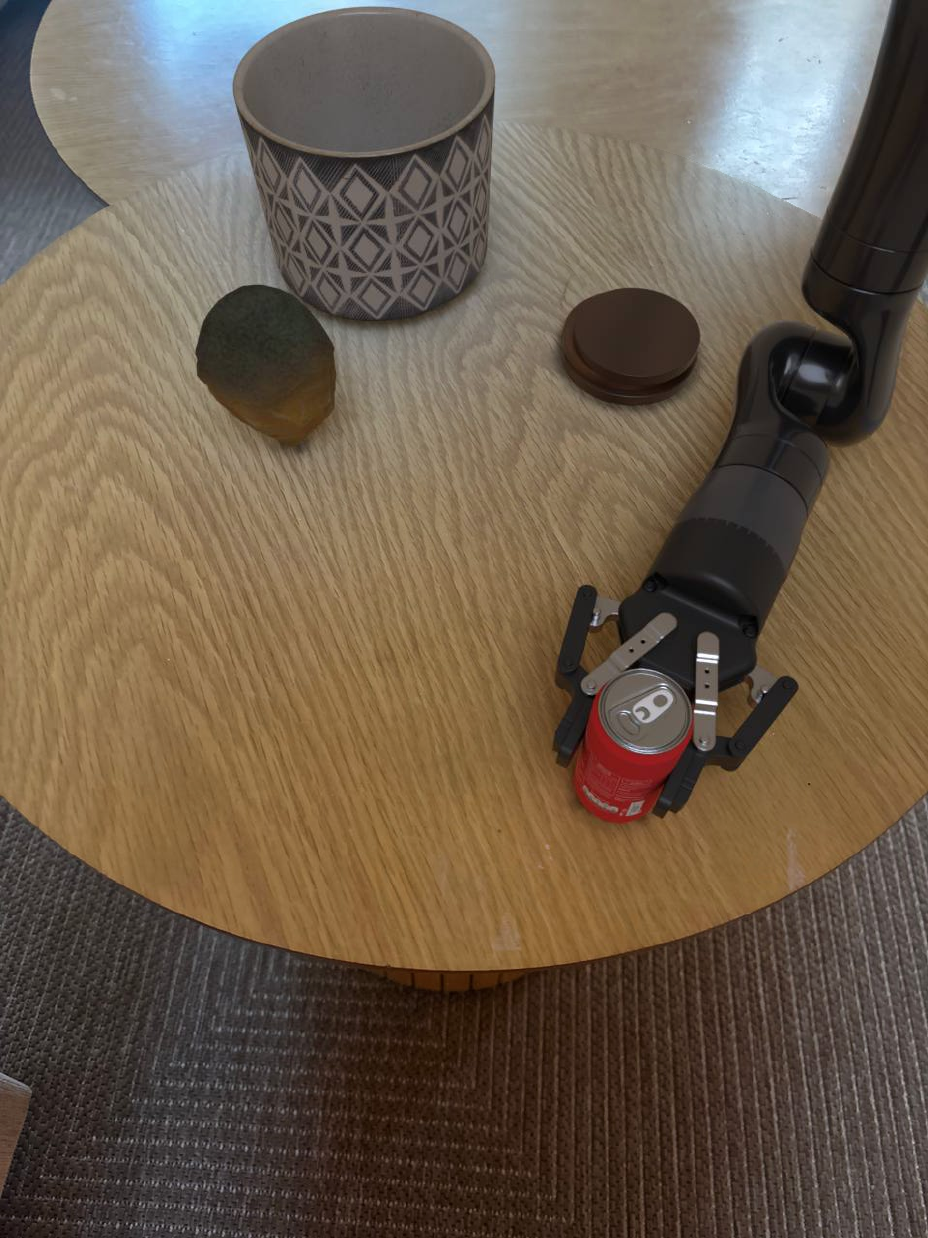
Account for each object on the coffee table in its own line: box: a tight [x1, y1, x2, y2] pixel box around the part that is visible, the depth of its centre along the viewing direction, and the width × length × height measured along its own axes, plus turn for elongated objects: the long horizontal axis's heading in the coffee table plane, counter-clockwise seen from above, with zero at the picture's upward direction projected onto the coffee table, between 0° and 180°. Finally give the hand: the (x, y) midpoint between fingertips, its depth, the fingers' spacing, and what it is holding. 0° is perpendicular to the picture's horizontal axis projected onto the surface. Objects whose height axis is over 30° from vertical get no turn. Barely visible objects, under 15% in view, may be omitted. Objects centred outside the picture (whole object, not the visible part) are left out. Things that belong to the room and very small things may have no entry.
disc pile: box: [561, 287, 701, 406], centre depth 72 cm, size 11×11×3 cm
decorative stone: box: [194, 284, 337, 447], centre depth 62 cm, size 10×6×15 cm, turn 95°
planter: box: [231, 5, 496, 322], centre depth 72 cm, size 19×19×16 cm
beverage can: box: [573, 668, 693, 824], centre depth 50 cm, size 5×5×12 cm
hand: (611, 785), depth 48 cm, fingers closed on beverage can, 5 cm apart
